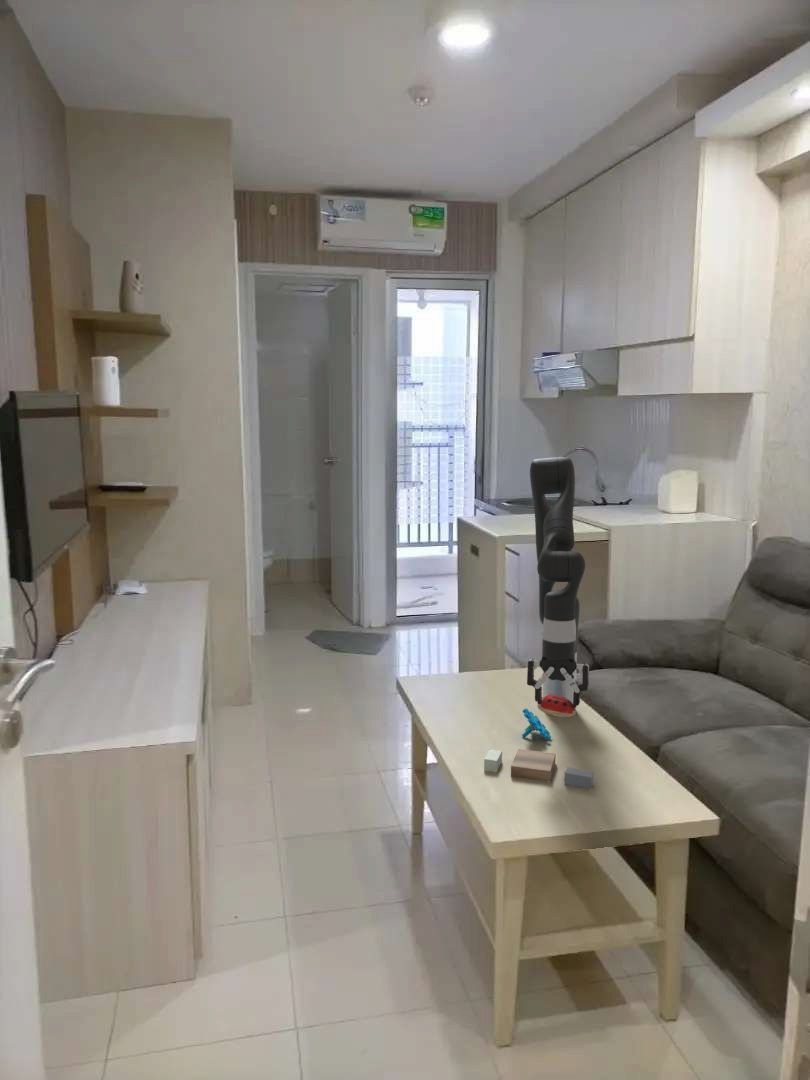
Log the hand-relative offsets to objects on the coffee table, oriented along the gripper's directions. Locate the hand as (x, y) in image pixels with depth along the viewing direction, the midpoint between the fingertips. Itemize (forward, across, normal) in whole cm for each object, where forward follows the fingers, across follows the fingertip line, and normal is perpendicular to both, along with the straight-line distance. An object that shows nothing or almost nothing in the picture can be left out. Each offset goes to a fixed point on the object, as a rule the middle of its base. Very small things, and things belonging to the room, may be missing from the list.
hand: (557, 704), depth 186 cm
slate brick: (+16, -6, +6) cm, 18 cm away
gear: (+16, +7, -19) cm, 26 cm away
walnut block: (+16, +5, +1) cm, 17 cm away
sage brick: (+16, +14, +2) cm, 22 cm away
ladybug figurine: (+2, 0, -1) cm, 3 cm away
